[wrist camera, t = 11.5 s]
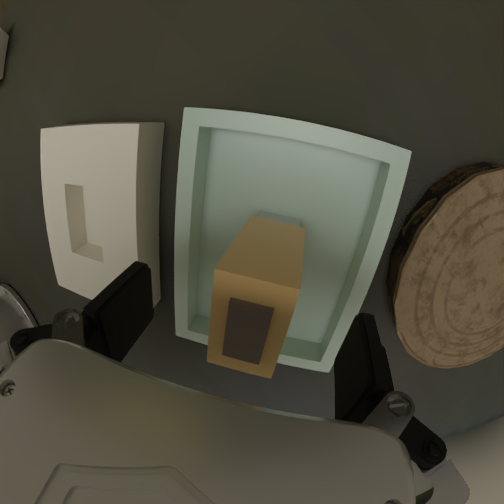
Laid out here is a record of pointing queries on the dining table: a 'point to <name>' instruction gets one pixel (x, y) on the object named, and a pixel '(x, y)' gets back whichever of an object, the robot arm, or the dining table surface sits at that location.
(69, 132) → the block
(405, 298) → the wood slice coaster
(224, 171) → the tray
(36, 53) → the dining table surface
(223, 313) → the tan rectangular block
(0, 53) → the white faceted figurine
